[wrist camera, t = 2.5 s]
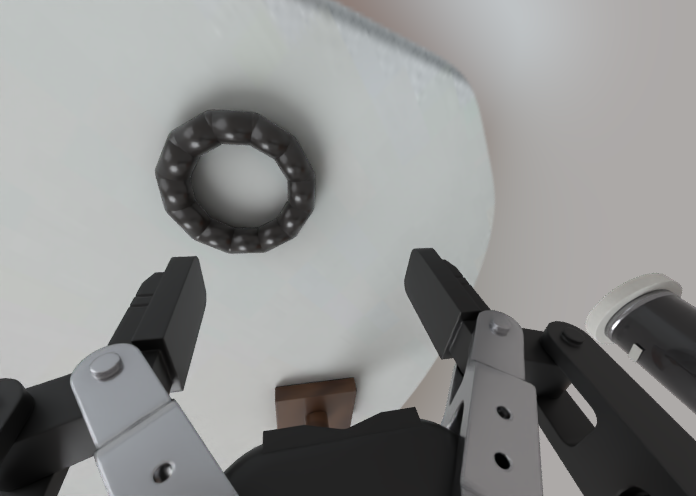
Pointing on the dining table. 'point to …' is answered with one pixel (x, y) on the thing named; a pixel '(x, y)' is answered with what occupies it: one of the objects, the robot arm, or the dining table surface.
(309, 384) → the brown peg stand
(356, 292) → the dining table surface
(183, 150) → the ring
